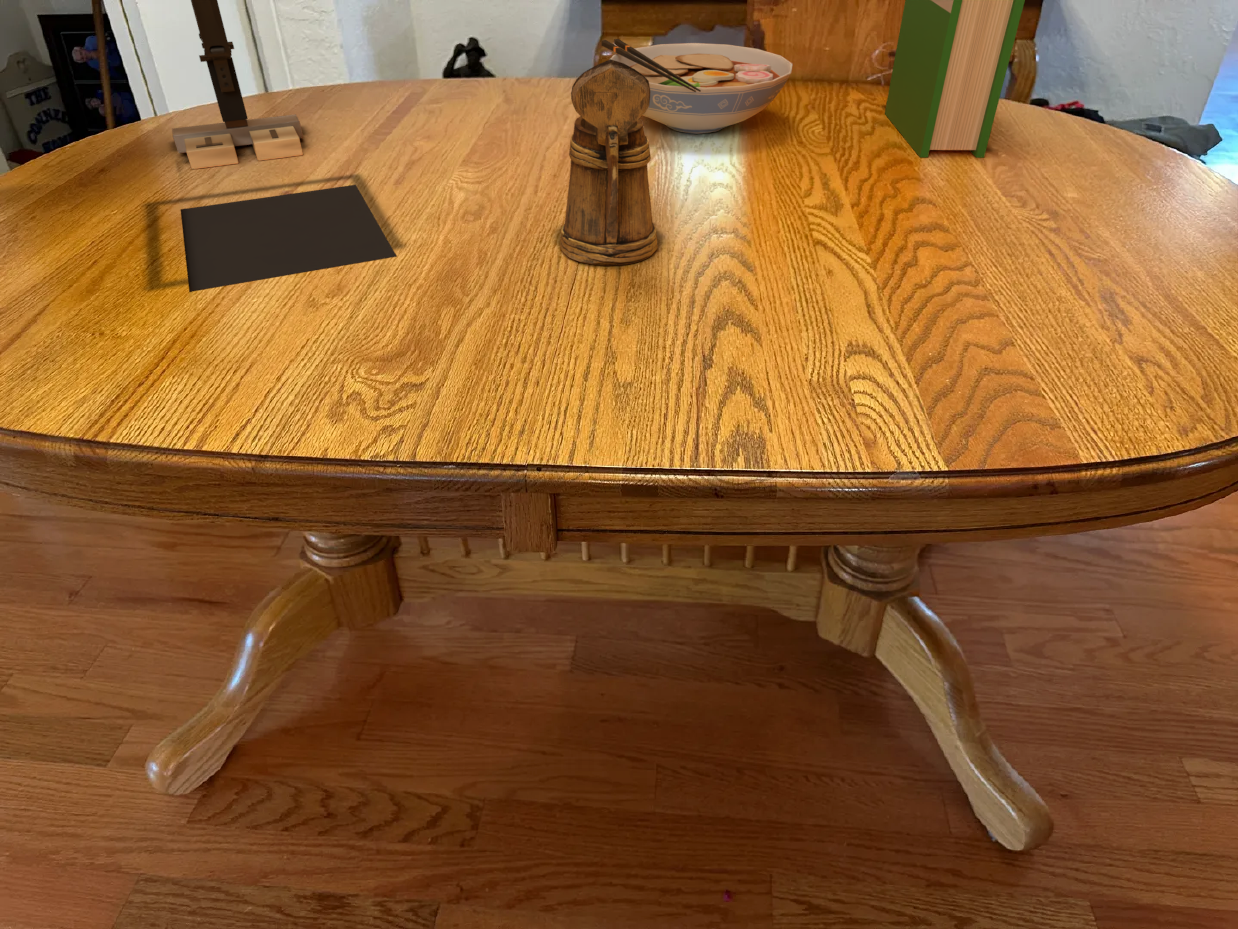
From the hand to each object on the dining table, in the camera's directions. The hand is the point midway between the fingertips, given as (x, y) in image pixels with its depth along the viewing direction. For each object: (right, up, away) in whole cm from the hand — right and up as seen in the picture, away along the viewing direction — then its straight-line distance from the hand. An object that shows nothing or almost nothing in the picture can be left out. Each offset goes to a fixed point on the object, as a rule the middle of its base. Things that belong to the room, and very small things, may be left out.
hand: (233, 115), depth 100 cm
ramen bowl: (+55, +2, +9) cm, 56 cm away
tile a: (-1, -6, -2) cm, 6 cm away
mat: (+12, -19, -18) cm, 29 cm away
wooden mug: (+44, -22, -23) cm, 54 cm away
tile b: (+5, -4, 0) cm, 6 cm away
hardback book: (+84, 0, +6) cm, 84 cm away
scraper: (0, -2, +2) cm, 3 cm away
